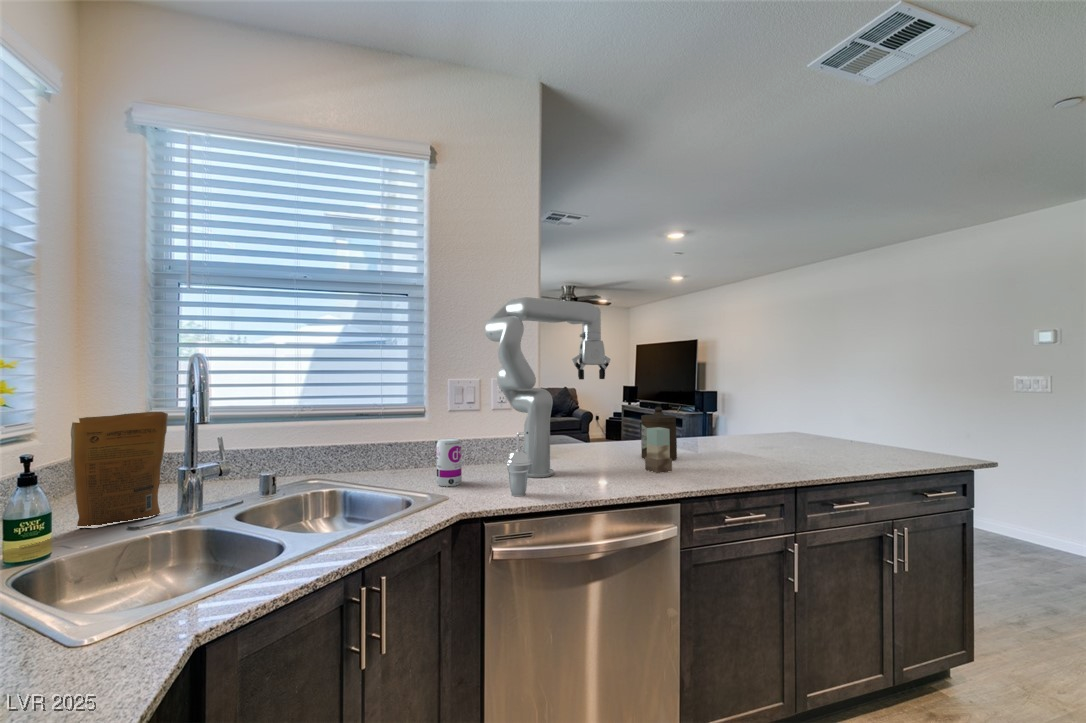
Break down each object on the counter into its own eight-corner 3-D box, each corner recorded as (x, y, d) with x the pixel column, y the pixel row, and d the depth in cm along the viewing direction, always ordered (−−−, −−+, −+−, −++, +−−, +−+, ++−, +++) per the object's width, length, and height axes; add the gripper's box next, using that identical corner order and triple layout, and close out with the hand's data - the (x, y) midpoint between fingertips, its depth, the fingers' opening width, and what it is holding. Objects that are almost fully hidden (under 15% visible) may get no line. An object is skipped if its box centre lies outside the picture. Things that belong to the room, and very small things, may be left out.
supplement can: (466, 483, 165) (466, 439, 165) (446, 488, 159) (446, 442, 159) (451, 480, 170) (451, 437, 171) (431, 484, 164) (431, 439, 165)
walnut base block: (656, 473, 180) (656, 460, 180) (645, 470, 187) (645, 456, 187) (671, 471, 183) (671, 458, 183) (659, 468, 190) (659, 455, 190)
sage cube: (656, 446, 181) (656, 430, 181) (646, 443, 186) (646, 428, 186) (669, 445, 184) (669, 429, 184) (659, 442, 189) (659, 427, 189)
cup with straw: (530, 490, 156) (529, 427, 156) (534, 498, 147) (534, 431, 147) (503, 491, 154) (503, 428, 154) (506, 499, 145) (505, 432, 146)
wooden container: (640, 454, 218) (640, 405, 218) (674, 455, 216) (674, 405, 216) (642, 461, 204) (642, 408, 204) (679, 461, 202) (678, 408, 202)
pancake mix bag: (170, 516, 130) (170, 411, 130) (70, 535, 116) (71, 417, 116) (165, 511, 134) (165, 410, 135) (68, 528, 120) (69, 415, 121)
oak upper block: (657, 459, 181) (657, 446, 181) (646, 457, 186) (646, 444, 186) (669, 458, 184) (669, 444, 184) (658, 455, 189) (658, 442, 189)
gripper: (577, 336, 192) (577, 379, 192) (614, 337, 199) (614, 379, 199) (568, 337, 199) (568, 379, 198) (604, 338, 206) (605, 378, 206)
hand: (591, 379), depth 199 cm, fingers open, 9 cm apart
